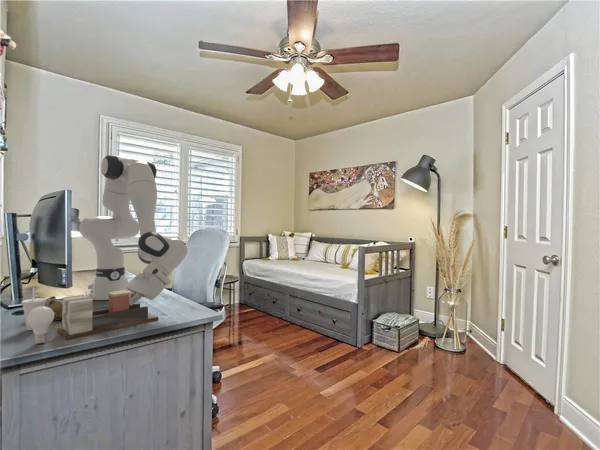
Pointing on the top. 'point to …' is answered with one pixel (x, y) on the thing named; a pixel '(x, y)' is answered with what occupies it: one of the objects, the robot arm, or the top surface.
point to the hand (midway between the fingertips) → (128, 304)
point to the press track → (97, 317)
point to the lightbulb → (40, 322)
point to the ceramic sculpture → (55, 306)
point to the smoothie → (32, 306)
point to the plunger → (118, 301)
